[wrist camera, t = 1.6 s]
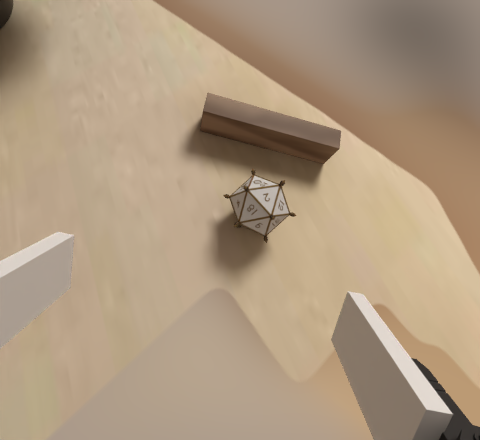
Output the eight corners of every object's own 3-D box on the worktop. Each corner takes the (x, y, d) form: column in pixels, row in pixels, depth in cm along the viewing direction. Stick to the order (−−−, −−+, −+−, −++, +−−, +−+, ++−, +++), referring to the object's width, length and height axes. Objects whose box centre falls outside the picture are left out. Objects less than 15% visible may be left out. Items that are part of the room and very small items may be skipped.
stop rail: (204, 114, 47) (207, 92, 42) (325, 147, 50) (341, 130, 45) (200, 130, 46) (203, 110, 42) (323, 163, 49) (339, 148, 44)
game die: (234, 221, 47) (200, 189, 39) (275, 184, 47) (250, 144, 39) (268, 262, 42) (237, 234, 34) (314, 220, 42) (295, 182, 34)
